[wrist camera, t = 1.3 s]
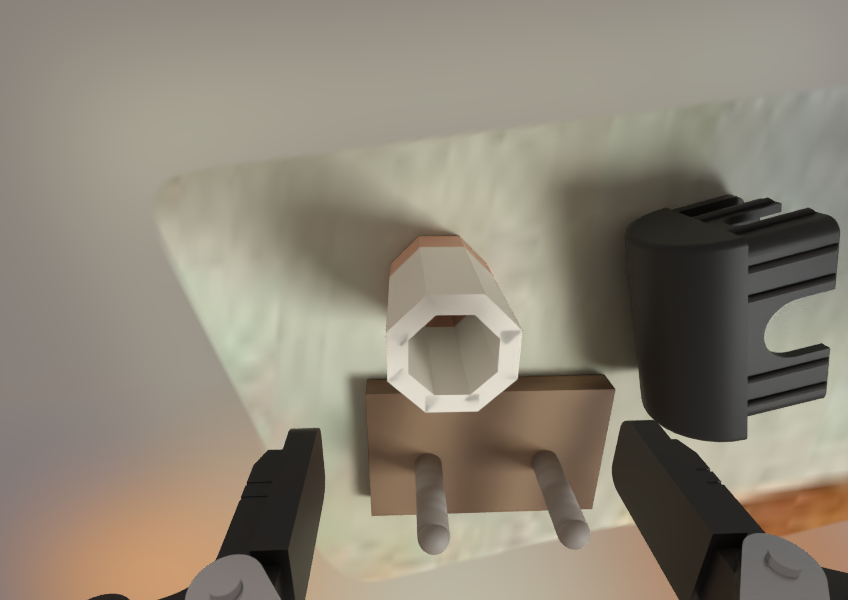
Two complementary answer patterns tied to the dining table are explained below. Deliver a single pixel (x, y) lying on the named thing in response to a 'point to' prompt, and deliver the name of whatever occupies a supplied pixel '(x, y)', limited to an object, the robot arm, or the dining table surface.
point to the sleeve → (448, 328)
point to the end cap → (725, 311)
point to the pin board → (490, 455)
